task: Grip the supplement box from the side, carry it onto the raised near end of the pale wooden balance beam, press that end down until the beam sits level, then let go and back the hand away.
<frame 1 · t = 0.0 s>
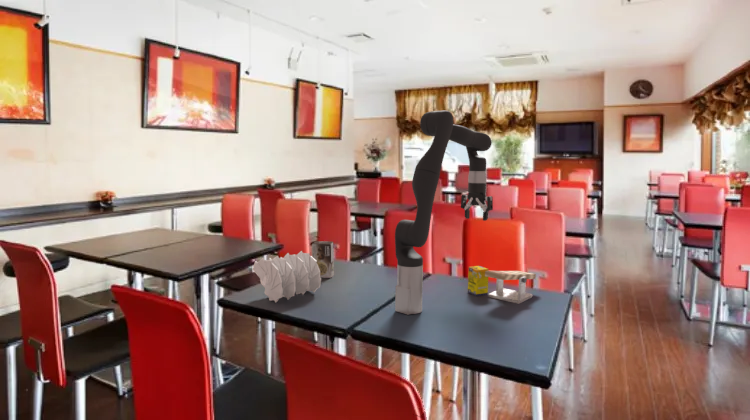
hand: (476, 219, 200), 29 cm above the table, tool pointing down, fingers open, 8 cm apart
beam: (511, 274, 187), point 9 cm above the table, hinge at 10.0°
supplement box: (477, 294, 192), on the table
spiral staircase: (290, 297, 187), on the table
beam stand: (510, 296, 188), on the table
coffee box: (323, 276, 219), on the table
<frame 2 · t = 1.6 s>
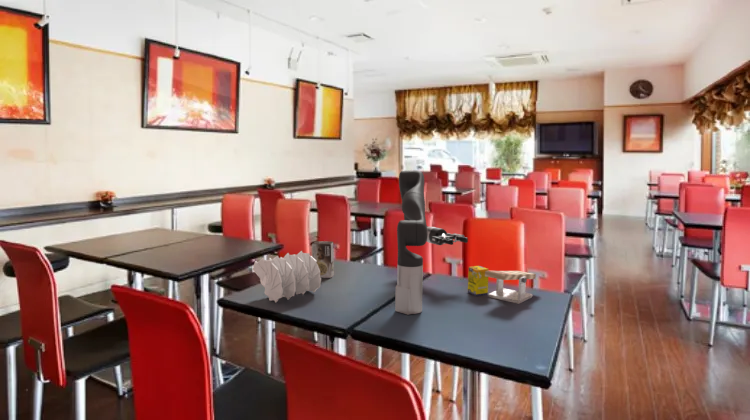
hand: (460, 241, 199), 20 cm above the table, tool horizontal, fingers open, 8 cm apart
nothing on the table moved.
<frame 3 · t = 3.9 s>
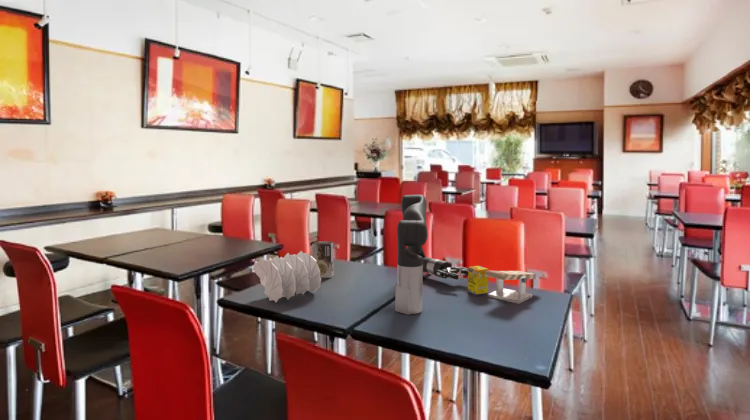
hand: (465, 275, 197), 6 cm above the table, tool horizontal, fingers open, 8 cm apart
nothing on the table moved.
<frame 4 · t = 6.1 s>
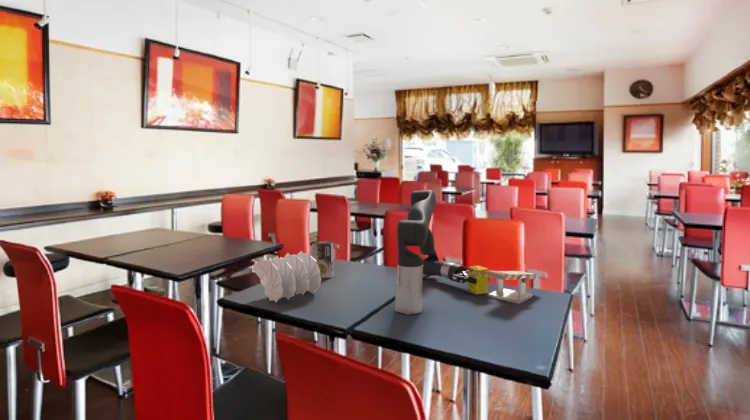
hand: (482, 280, 190), 6 cm above the table, tool horizontal, fingers closed on supplement box, 6 cm apart
supplement box: (477, 294, 192), on the table, touching gripper
everything else where it was.
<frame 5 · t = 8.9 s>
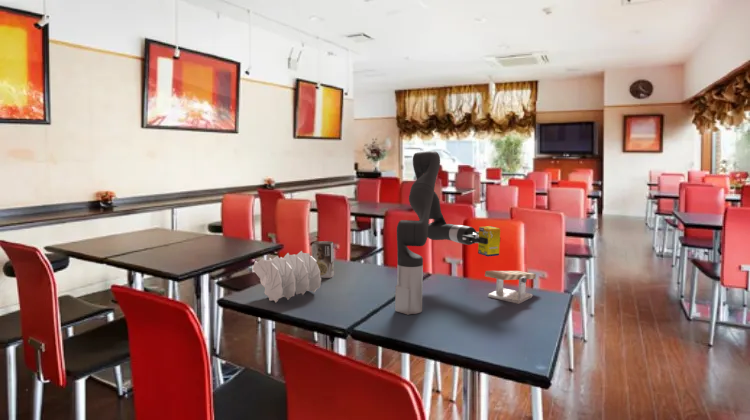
hand: (493, 240, 182), 24 cm above the table, tool horizontal, fingers closed on supplement box, 6 cm apart
supplement box: (488, 255, 185), point 17 cm above the table, touching gripper
everything else where it was.
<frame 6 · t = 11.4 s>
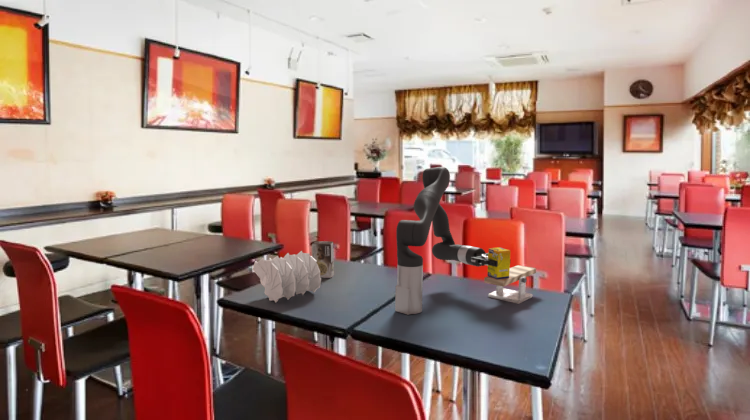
hand: (503, 262, 176), 16 cm above the table, tool horizontal, fingers closed on supplement box, 6 cm apart
beam: (511, 274, 187), point 9 cm above the table, hinge at -0.2°, touching supplement box
supplement box: (498, 277, 179), point 10 cm above the table, touching beam, gripper
everything else where it was.
when the fingers open (16 cm above the table, at t = 11.7 s): supplement box stays where it is, resting on beam.
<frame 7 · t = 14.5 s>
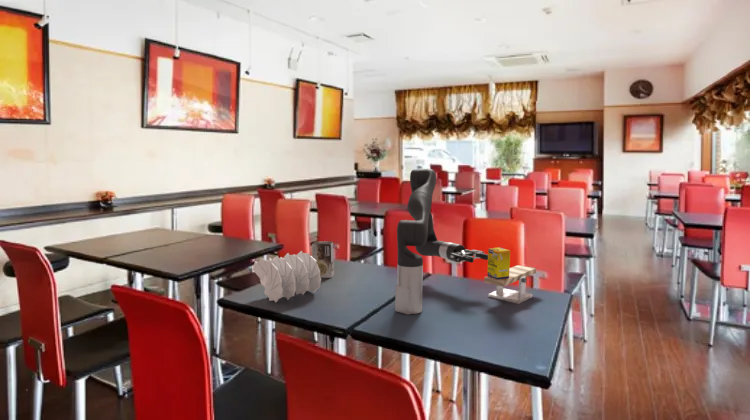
hand: (480, 258, 187), 16 cm above the table, tool horizontal, fingers open, 8 cm apart
supplement box: (498, 277, 179), point 10 cm above the table, touching beam
everything else where it was.
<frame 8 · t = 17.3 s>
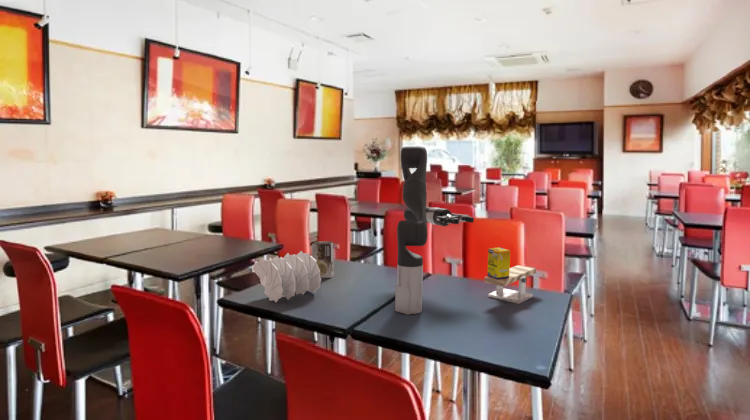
hand: (465, 220, 191), 30 cm above the table, tool horizontal, fingers open, 8 cm apart
nothing on the table moved.
at the end: beam at +0° (first picture: +10°); supplement box inside the target area on the beam (0.5 cm from its centre), point 2.0 cm above the beam's base; supplement box tilted 0° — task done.
